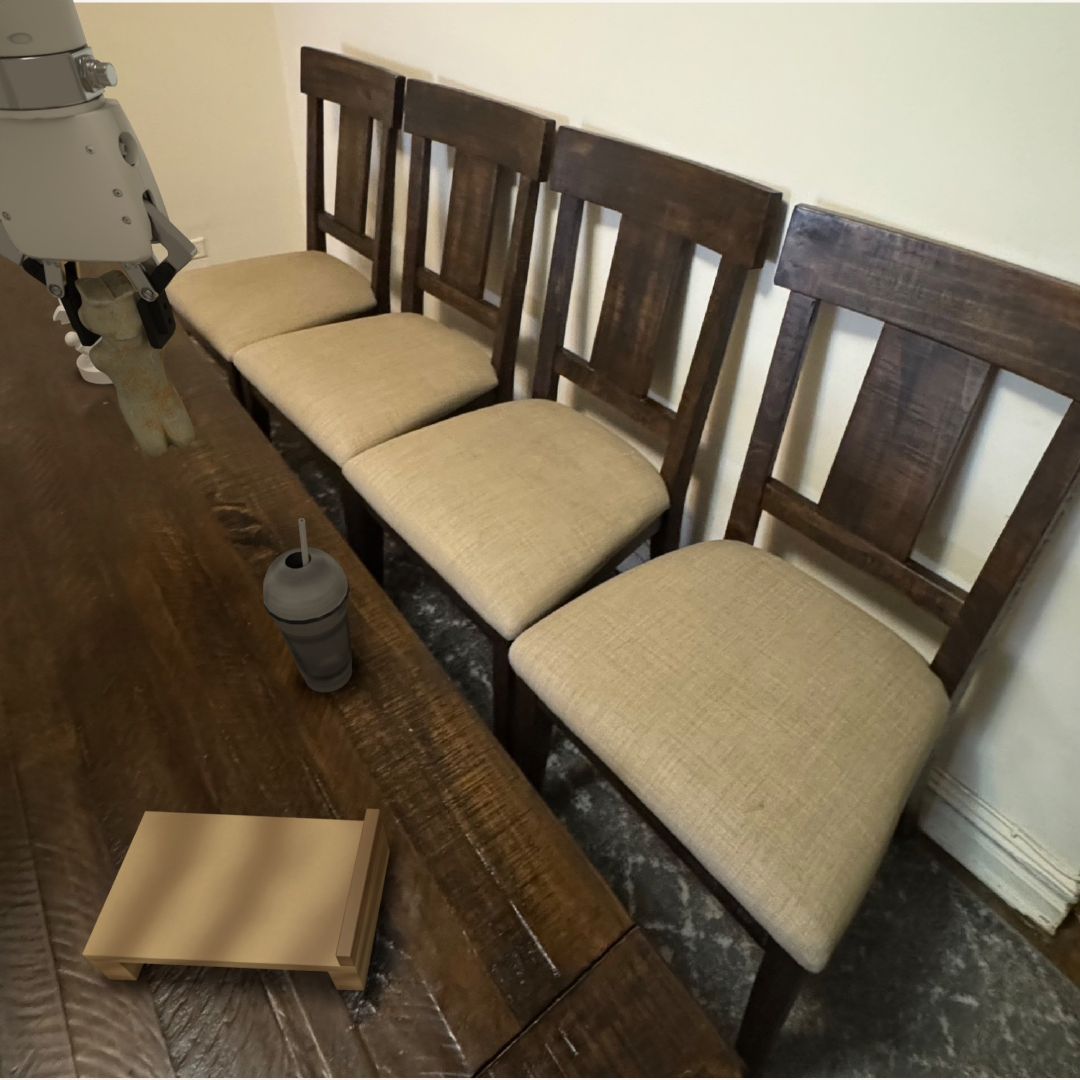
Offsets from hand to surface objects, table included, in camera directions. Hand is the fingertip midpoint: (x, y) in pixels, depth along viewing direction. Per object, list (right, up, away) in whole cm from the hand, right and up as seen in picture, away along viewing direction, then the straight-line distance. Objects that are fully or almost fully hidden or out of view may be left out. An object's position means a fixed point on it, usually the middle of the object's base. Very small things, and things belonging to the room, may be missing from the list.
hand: (129, 337), depth 60 cm
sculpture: (-1, -7, +7) cm, 10 cm away
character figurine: (-31, +9, +52) cm, 61 cm away
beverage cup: (+13, -29, +12) cm, 34 cm away
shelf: (+12, -44, -4) cm, 46 cm away
